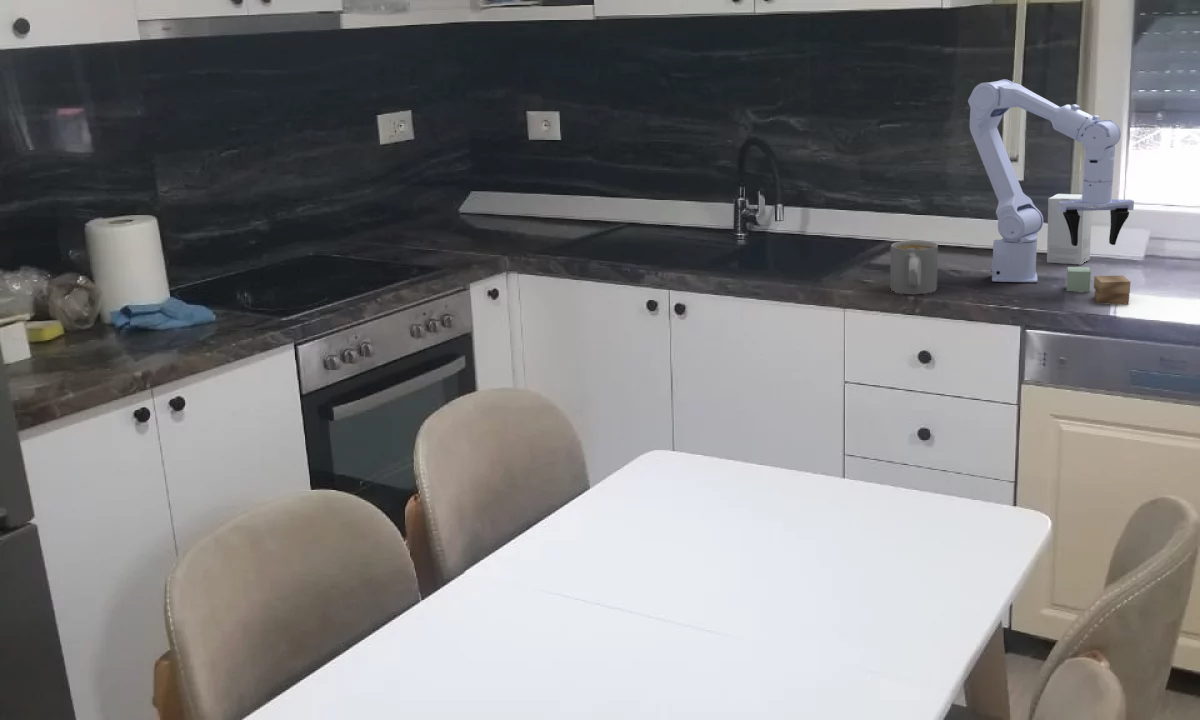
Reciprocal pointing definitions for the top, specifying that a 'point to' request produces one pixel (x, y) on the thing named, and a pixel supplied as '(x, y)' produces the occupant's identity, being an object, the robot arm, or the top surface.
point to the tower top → (1111, 284)
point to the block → (1078, 279)
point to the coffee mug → (913, 267)
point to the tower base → (1112, 298)
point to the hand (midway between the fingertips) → (1093, 244)
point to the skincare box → (1067, 233)
